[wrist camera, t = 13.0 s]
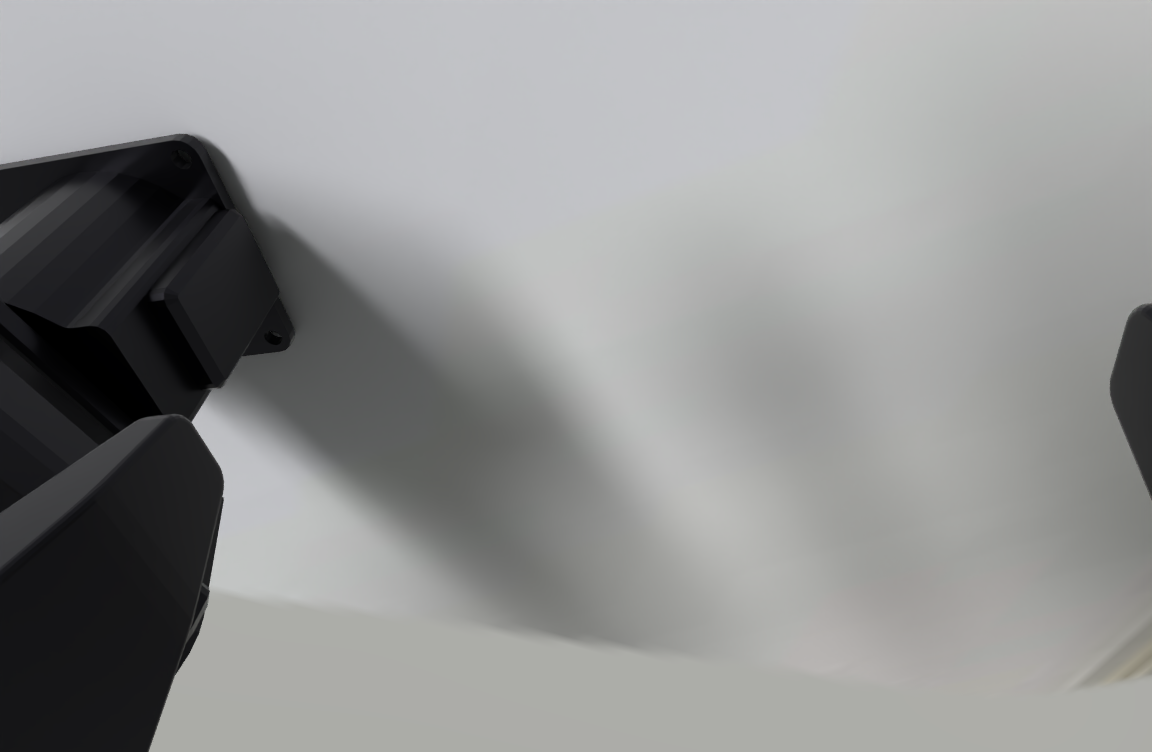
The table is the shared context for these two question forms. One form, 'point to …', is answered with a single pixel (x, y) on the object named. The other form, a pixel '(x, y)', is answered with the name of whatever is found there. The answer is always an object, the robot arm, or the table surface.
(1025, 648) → the table surface
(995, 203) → the table surface
